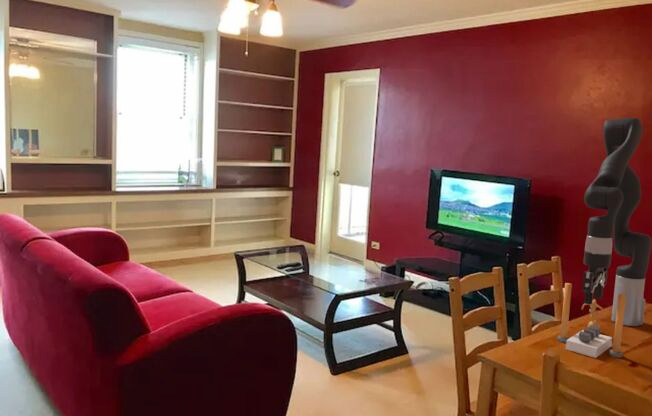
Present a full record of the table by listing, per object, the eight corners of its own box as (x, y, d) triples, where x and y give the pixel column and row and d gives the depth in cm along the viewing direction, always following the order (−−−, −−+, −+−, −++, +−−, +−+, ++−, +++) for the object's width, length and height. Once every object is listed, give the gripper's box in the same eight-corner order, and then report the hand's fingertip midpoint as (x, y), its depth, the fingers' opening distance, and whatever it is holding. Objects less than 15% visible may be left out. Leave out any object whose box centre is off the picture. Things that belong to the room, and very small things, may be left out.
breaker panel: (582, 338, 182) (583, 329, 182) (611, 346, 176) (612, 337, 175) (565, 349, 172) (566, 339, 172) (595, 358, 166) (596, 348, 165)
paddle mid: (585, 334, 175) (585, 328, 174) (595, 337, 173) (595, 330, 172) (583, 337, 174) (583, 330, 173) (593, 339, 172) (593, 333, 171)
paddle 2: (590, 331, 178) (590, 325, 177) (600, 334, 176) (600, 327, 175) (588, 334, 177) (588, 327, 176) (598, 336, 175) (598, 330, 174)
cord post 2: (618, 353, 170) (624, 293, 168) (624, 358, 167) (631, 297, 164) (606, 352, 170) (613, 293, 168) (612, 357, 167) (619, 296, 164)
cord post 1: (566, 338, 181) (571, 282, 179) (571, 342, 178) (576, 285, 175) (555, 338, 181) (560, 282, 179) (560, 342, 178) (565, 285, 175)
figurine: (608, 334, 187) (612, 300, 185) (601, 338, 183) (604, 303, 181) (583, 327, 193) (587, 294, 191) (576, 331, 189) (579, 297, 187)
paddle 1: (581, 337, 172) (580, 331, 171) (591, 340, 170) (590, 333, 169) (579, 340, 171) (578, 333, 170) (589, 342, 169) (589, 336, 168)
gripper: (593, 245, 177) (588, 294, 180) (576, 251, 167) (571, 302, 169) (618, 249, 172) (613, 299, 174) (602, 255, 162) (597, 308, 164)
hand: (592, 301), depth 172 cm, fingers open, 8 cm apart
